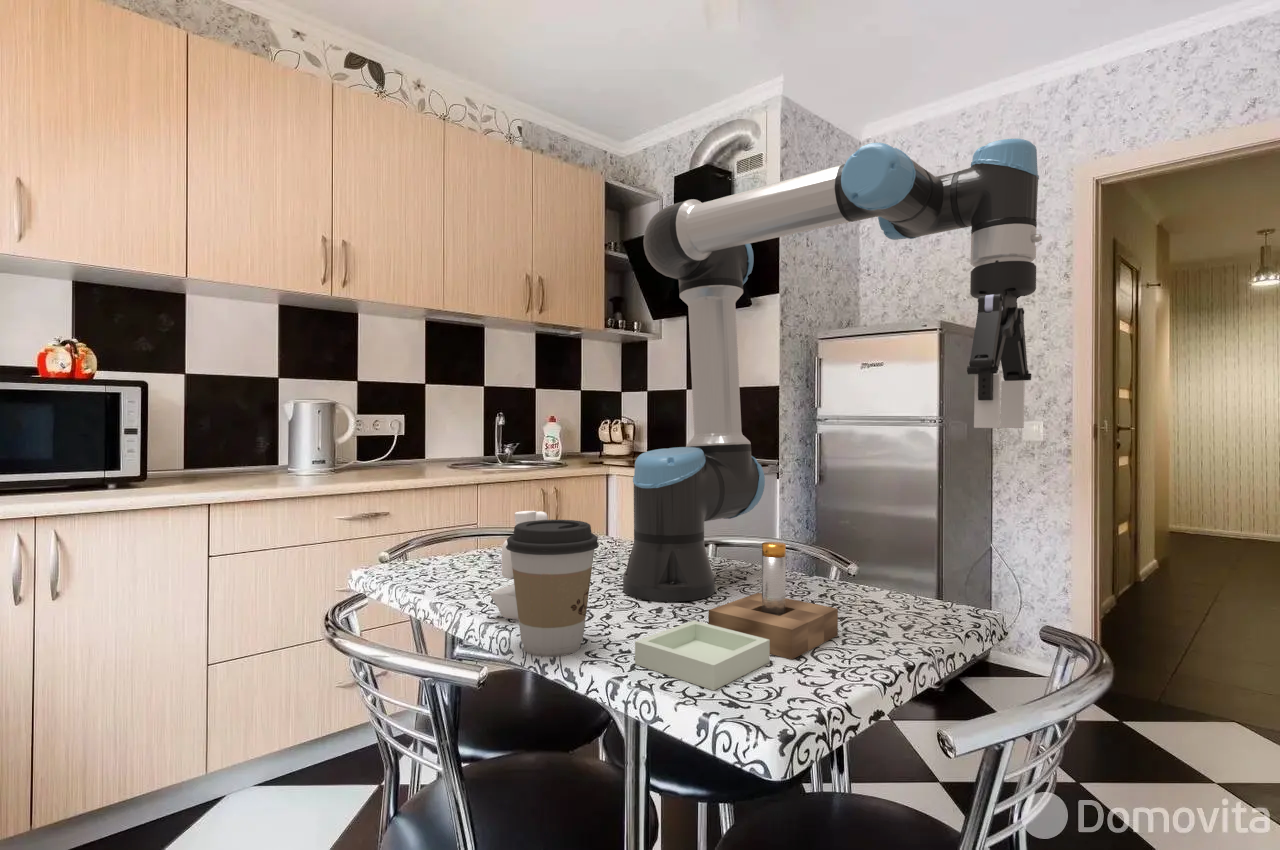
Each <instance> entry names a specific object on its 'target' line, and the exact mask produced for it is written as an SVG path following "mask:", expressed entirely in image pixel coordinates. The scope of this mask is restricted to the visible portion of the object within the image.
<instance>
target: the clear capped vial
mask: <svg viewBox="0 0 1280 850" xmlns="http://www.w3.org/2000/svg"><path fill="white" fill-rule="evenodd" d="M786 547H787V546H786V543H784V542H780V541H779V542H778V541H764V542H762V543H761V593H762V612H764V613H769V614H773V615H778V616H781V615H783V614H785V598H786V585H787V584H786V583H787V582H786V579H787V578H786V573H787V571H786V569H787V568H786V560H787V558H786V557H787V555H786V553H787V549H786Z"/></svg>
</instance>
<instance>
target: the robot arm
mask: <svg viewBox="0 0 1280 850" xmlns="http://www.w3.org/2000/svg"><path fill="white" fill-rule="evenodd" d="M1039 180H1040V175H1039V171H1038V152H1037V147H1036V145H1035V144H1034V143H1032V141H1030V140H1027V139H1023V138H1005V139H1000V140H999V139H998V140H995V141H992V142H989V143H987V144H986V145H983V146H981V147H979V148H977V149H976V150H975V151H974V153H973V155H972V160H971V163H970V167H968V168H966V169H962V170H959V171H958V170H957V171H956V172H955V171H954V172H951V173H948V174H947V173H946V174H942V175H938V176H936V175H934V174H933V173H931V172H930V171H928V170H927V169H926V168H925V167H922V166H921V165H920V164H918V163H917V162H916V161H915V160H913V159H911V157H910V156H908V155H907V154H906V152H904V151H902V150H901V149H899V148H897V147H893V146H891V145H889V144H887V143H883V142H870V143H867V144H865V145H862V146H860V147H859V148H858V149H857V150H856V151H855V152H853V153H852V154H851V155H849V157H848V158H847V160H846V161H845V163H843V164H840V165H836V166H832V167H829V168H825V169H822V170H817V171H814V172H811V173H807V174H803V175H799V176H796V177H792V178H789V179H786V180H785V179H784V180H782V181H776V182H775V183H771V184H767V185H764V186H760V187H756V188H752V189H748V190H745V191H742V192H738V193H734V194H731V195H726V196H723V197H720V198H716V199H713V200H708V201H704V202H701V200H698V199H694V198H693V199H692V198H691V199H687V200H684V201H680V202H676V203H674V204H671V205H668V206H666V207H664V208H662V209H660V210H659V211H657V213H656V214H655V215H653V216H652V218H651V219H650V220H649V222H648V223H647V225H646V227H645V230H644V235H643V250H644V254H645V256H646V259H647V261H648V263H650V265H651V267H653V269H655V270H656V272H658V273H660V274H662V275H663V276H665V277H669V278H671V279H674V280H678V289H679V290H678V291H679V292H678V293H679V299H681V300H682V302H684V303H685V304H686V305H687V306H688V307H687V308H688V310H687V311H688V325H689V326H688V327H689V331H688V332H689V349H690V373H691V394H692V396H691V397H692V416H693V436H692V438H691V439H690V440H689V442H687V444H686V446H679V447H678V446H677V447H676V446H675V447H669V448H658V449H652V450H648V451H645V452H642V453H641V454H639V455H638V456H637V457H636V459H635V462H634V472H633V473H634V474H633V477H632V484H633V545H632V547H631V552H630V554H629V556H628V557H629V558H628V561H627V564H626V565H627V566H626V570H625V572H623V576H622V579H623V580H622V590H623V593H624V594H627V596H631V597H633V598H637V599H640V600H647V601H653V602H654V601H656V602H670V603H671V602H673V603H674V602H689V601H696V600H701V599H704V598H708V597H710V596H712V595H713V594H715V590H716V589H715V586H716V582H715V575H714V574H713V571H712V567H711V562H710V559H709V556H708V553H707V549H706V547H705V522H711V521H715V520H721V519H729V520H730V519H734V518H737V517H739V516H743V515H746V514H747V513H750V512H751V511H752V510H753V509H754V508H755V507H756V506H757V505H758V504H759V503H760V501H761V499H762V497H763V494H764V490H765V485H766V479H765V473H764V472H765V471H764V469H763V467H762V464H761V463H759V462H758V460H757V458H756V457H754V456H753V455H752V446H751V445H752V444H751V441H750V440H749V439H748V438H747V437H746V436H745V435H743V432H742V415H741V414H742V413H741V395H740V394H741V392H740V376H739V375H740V371H739V370H740V369H739V352H738V351H739V350H738V332H737V331H738V330H737V328H738V327H737V311H736V309H737V308H736V303H737V301H738V300H739V299H740V297H741V296H742V295H743V294H744V284H745V283H746V282H747V281H748V279H749V277H748V276H749V275H750V274H752V271H753V267H754V259H755V258H754V250H753V248H752V247H753V246H752V244H753V243H758V242H763V241H767V240H772V239H776V238H777V239H778V238H781V237H785V236H791V235H796V234H800V233H804V232H808V231H814V230H819V229H823V228H828V227H832V226H837V225H843V224H847V223H854V222H859V221H863V220H867V219H873V218H877V219H878V223H879V227H880V229H881V230H882V231H883V234H884V236H885V237H886V238H887V239H889V240H893V241H894V240H895V241H897V240H906V239H908V240H914V239H916V238H919V237H923V236H928V235H930V236H931V235H933V234H939V233H940V234H941V233H944V232H949V231H955V230H959V229H965V228H969V227H970V228H971V230H970V232H971V233H970V234H971V235H970V261H969V263H970V265H971V266H972V267H974V268H972V270H971V271H970V281H969V282H970V286H969V287H970V289H969V290H970V291H969V294H970V296H971V297H972V298H974V299H976V300H977V315H976V322H975V328H974V333H973V340H972V345H971V346H972V347H971V352H970V359H969V365H968V366H967V367H966V372H967V375H974V393H973V394H974V402H973V403H974V405H973V407H974V408H973V409H974V410H973V411H974V412H973V428H974V429H980V428H981V429H1000V428H1001V429H1003V428H1004V429H1007V428H1008V429H1025V387H1026V386H1025V384H1026V383H1025V381H1031V380H1032V373H1029V369H1028V357H1027V346H1026V336H1025V335H1026V333H1025V321H1024V320H1025V315H1024V314H1025V309H1024V307H1018V299H1019V298H1021V297H1026V296H1027V297H1028V296H1030V295H1032V294H1034V292H1035V291H1036V289H1037V265H1036V264H1035V263H1034V262H1033V261H1035V259H1036V258H1037V246H1036V243H1038V242H1041V241H1042V239H1043V236H1042V234H1041V233H1039V234H1038V233H1037V225H1038V224H1037V223H1038V222H1037V221H1038V219H1037V216H1038V213H1037V212H1038V192H1039V191H1038V189H1039ZM1000 364H1001V370H1002V376H1003V377H1002V378H1003V380H1001V374H998V371H1000V370H999V369H1000V368H999V367H1000Z"/></svg>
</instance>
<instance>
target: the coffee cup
mask: <svg viewBox="0 0 1280 850" xmlns="http://www.w3.org/2000/svg"><path fill="white" fill-rule="evenodd" d="M598 539H599V538H598V536H597V535H595V534H594V533H592V526H591V524H590V523H588V522H587V521H581V520H574V519H548V520H537V521H528V522H523V523H519V524H517V525H516V524H515V526H514V530H513V534H511V535H510V536H509V537H508V538H506V540H507V543H508V544H507V546H506V548H507V550H509V551H510V553H511V561H512V569H513V577H514V578H513V584H514V586H515V594H516V602H517V610H518V619H519V620H518V626H519V633H520V634H519V635H520V641H521V643H522V647H523V648H522V649H523V650H524V652H525V653H527V654H528V655H529V654H530V655H532V656H534V657H535V656H536V657H542V658H543V657H545V658H546V657H547V658H548V657H549V658H550V657H561V656H562V657H564V656H566V655H571V654H573V653H576V652H577V651H579V650H580V649H581V645H582V641H583V639H584V632H585V625H586V618H587V610H588V601H589V596H590V595H589V594H590V587H591V579H592V570H593V562H594V556H595V555H594V554H595V549H597V548H599V543H598Z"/></svg>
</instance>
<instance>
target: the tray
mask: <svg viewBox="0 0 1280 850" xmlns="http://www.w3.org/2000/svg"><path fill="white" fill-rule="evenodd" d="M770 655H771V654H770V640H769V639H765V638H761V637H757V636H753V635H749V634H745V633H741V632H737V631H733V630H730V629H726V628H722V627H718V626H714V625H710V624H709V623H706V622H701V621H697V620H691V621H687V622H686V623H683V624H680V625H677V626H674V627H671V628H669V629H666V630H663V631H660V632H657V633H655V634H651V635H649V636H646V637H644V638H640V639H638V640H635V641H634V665H636V666H639V667H642V668H646V669H649V670H651V671H654V672H657V673H660V674H662V675H663V674H664V675H665V676H666V675H667V676H670V677H672V678H675V679H678V680H681V681H684V682H688V683H691V684H693V685H695V686H699V687H702V688H706V689H708V690H711V691H715V690H718V689H720V688H722V687H724V686H726V685H727V684H730V683H731V682H733V681H735V680H738V679H739V678H741V677H744V676H745V675H748V674H749V673H751V672H754V671H755V670H757V669H759V668H761V667H763V666H765V665H767V664H769V663H771V661H770V659H771V657H770Z"/></svg>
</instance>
